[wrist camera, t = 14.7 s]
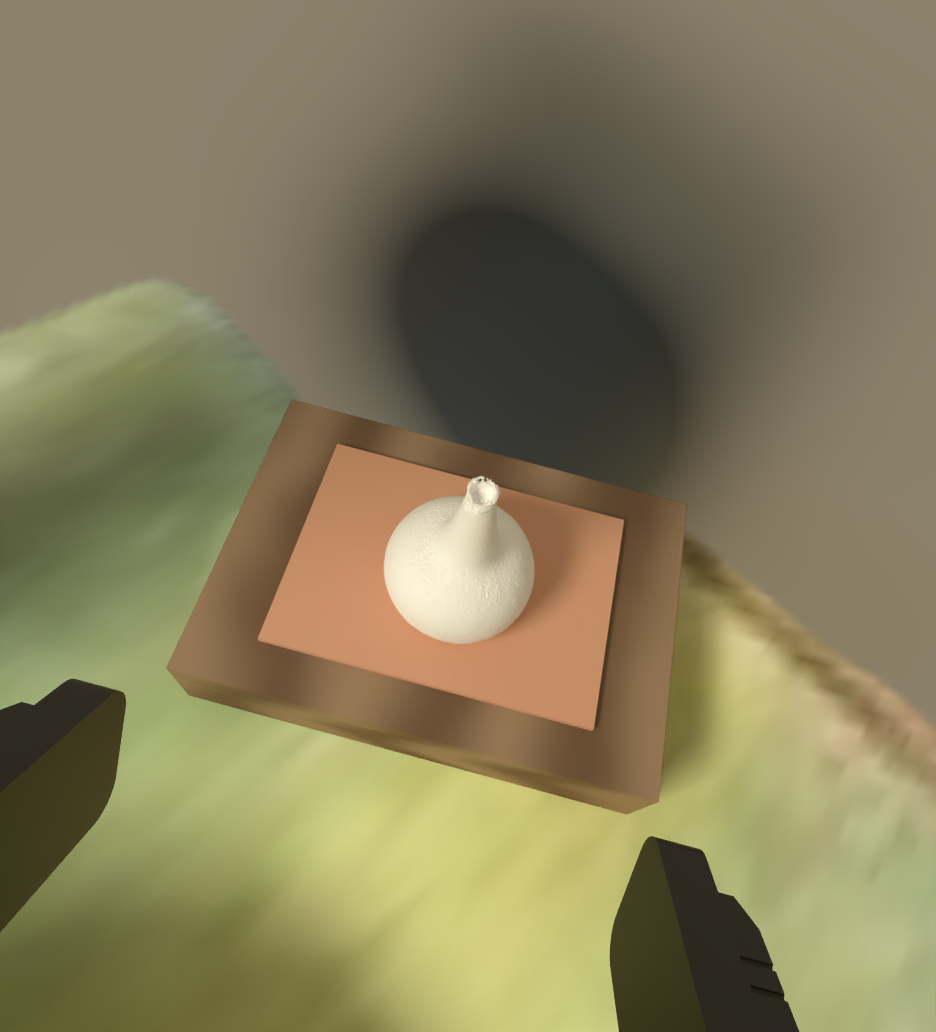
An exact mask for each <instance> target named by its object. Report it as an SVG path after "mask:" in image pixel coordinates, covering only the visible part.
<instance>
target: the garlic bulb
mask: <svg viewBox="0 0 936 1032" xmlns="http://www.w3.org/2000/svg"><path fill="white" fill-rule="evenodd" d="M479 479H482V480H481V481H479ZM484 479H485V477H484V476H479V477H477V478H473V479H472V480H471V481H470V482H469V483H468V486H467V492H466V495H465V496H447V497H442V498H438V499H434V500H431V501H429V502H426V503H425V504H423V505H420V506H419V507H417V508H416V509H414V510H413V511H412V512H410V513H409V514H408V515H407V516H406V517H404V519H403V520H402V521H401V522H400V523H399V524H398V526H397V527H396V529H395V530H394V532H393V533H392V535H391V538H390V540H389V542H388V545H387V548H386V553H385V559H384V578H385V584H386V587H387V590H388V593H389V596H390V598H391V600H392V602H393V604H394V605H395V607H396V608H397V610H398V611H399V613H400V614H401V615H402V616H403V618H404V619H405V620H406V621H407V622H408V623H409V624H410V625H412V626H413V627H414V628H416V629H418V630H419V631H420V632H422V633H424V634H425V635H427V636H429V637H432V638H435V639H437V640H441V641H444V642H449V643H455V644H467V643H475V642H480V641H483V640H486V639H489V638H492V637H494V636H495V635H497V634H499V633H501V632H503V631H504V630H505V629H507V628H508V627H509V626H510V625H511V624H512V623H513V622H514V621H515V620H516V619H517V618H518V616H519V615H520V614H521V612H522V611H523V609H524V608H525V606H526V604H527V602H528V600H529V597H530V595H531V591H532V588H533V583H534V569H535V567H534V558H533V554H532V550H531V547H530V544H529V542H528V540H527V538H526V535H525V534H524V532H523V530H522V529H521V527H520V526H519V525H518V523H517V522H516V521H515V520H514V519H513V518H512V517H511V516H510V515H509V514H508V513H506V512H505V511H504V510H502V509H501V508H499V507H498V506H497V500H498V498H499V497H498V496H499V494H500V492H499V490H500V489H499V487H498V485H496V484H495V482H492V480H491V479H490V481H489V479H488V478H486V479H487V480H488V481H487V482H485V480H484Z"/></svg>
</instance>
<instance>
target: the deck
mask: <svg viewBox="0 0 936 1032" xmlns="http://www.w3.org/2000/svg"><path fill="white" fill-rule="evenodd" d="M337 444H340V445H344V446H348V447H352V448H356V449H359V450H363V451H367V452H371V453H374V454H378V455H382V456H386V457H389V458H393V459H397V460H401V461H404V462H408V463H412V464H416V465H419V466H423V467H427V468H431V469H434V470H438V471H442V472H446V473H449V474H453V475H457V476H461V477H464V478H468V479H473V478H477V477H479V476H484V477H485V479H484V480H485V482H487V481H488V480H487V479H486V478H488V479H489V481H490V479H491V480H492V482H495V484H496V485H498V487H502V488H506V489H509V490H513V491H517V492H521V493H524V494H528V495H532V496H536V497H539V498H543V499H547V500H551V501H555V502H558V503H562V504H566V505H570V506H573V507H577V508H581V509H585V510H588V511H592V512H596V513H600V514H603V515H607V516H611V517H615V518H618V519H622V520H624V524H623V531H622V538H621V545H620V552H619V559H618V565H617V572H616V579H615V586H614V593H613V600H612V607H611V614H610V621H609V628H608V634H607V641H606V648H605V655H604V662H603V669H602V676H601V683H600V690H599V697H598V703H597V710H596V717H595V724H594V730H592V731H590V730H586V729H582V728H579V727H575V726H571V725H568V724H564V723H560V722H557V721H553V720H549V719H545V718H542V717H538V716H534V715H531V714H527V713H523V712H520V711H516V710H512V709H509V708H505V707H501V706H497V705H494V704H490V703H486V702H483V701H479V700H475V699H472V698H468V697H464V696H460V695H457V694H453V693H449V692H446V691H442V690H438V689H435V688H431V687H427V686H424V685H420V684H416V683H412V682H409V681H405V680H401V679H398V678H394V677H390V676H387V675H383V674H379V673H375V672H372V671H368V670H364V669H361V668H357V667H353V666H350V665H346V664H342V663H339V662H335V661H331V660H327V659H324V658H320V657H316V656H313V655H309V654H305V653H302V652H298V651H294V650H290V649H287V648H283V647H279V646H276V645H272V644H268V643H265V642H261V641H258V636H259V634H260V631H261V629H262V627H263V624H264V622H265V619H266V617H267V614H268V612H269V609H270V607H271V605H272V602H273V600H274V597H275V595H276V592H277V590H278V587H279V585H280V582H281V580H282V578H283V575H284V573H285V570H286V568H287V565H288V563H289V560H290V558H291V556H292V553H293V551H294V548H295V546H296V543H297V541H298V538H299V536H300V534H301V531H302V529H303V526H304V524H305V521H306V519H307V516H308V514H309V512H310V509H311V507H312V504H313V502H314V499H315V497H316V494H317V492H318V490H319V487H320V485H321V482H322V480H323V477H324V475H325V472H326V470H327V468H328V465H329V463H330V460H331V458H332V455H333V453H334V450H335V448H336V446H337ZM481 480H482V479H479V481H481ZM686 507H687V505H686V504H683V503H679V502H676V501H672V500H668V499H664V498H661V497H656V496H653V495H649V494H646V493H642V492H638V491H634V490H631V489H627V488H623V487H619V486H616V485H612V484H608V483H604V482H600V481H597V480H593V479H589V478H585V477H582V476H578V475H574V474H570V473H567V472H562V471H559V470H555V469H552V468H547V467H544V466H540V465H536V464H533V463H528V462H525V461H521V460H518V459H514V458H510V457H506V456H502V455H499V454H495V453H491V452H488V451H484V450H480V449H476V448H472V447H469V446H465V445H461V444H457V443H454V442H450V441H446V440H442V439H439V438H435V437H431V436H427V435H424V434H420V433H416V432H412V431H409V430H405V429H401V428H397V427H393V426H389V425H386V424H382V423H378V422H375V421H371V420H367V419H363V418H359V417H356V416H352V415H348V414H345V413H341V412H337V411H333V410H329V409H326V408H322V407H318V406H314V405H311V404H307V403H303V402H299V401H296V400H291V402H290V404H289V406H288V409H287V411H286V413H285V415H284V417H283V419H282V421H281V424H280V426H279V428H278V430H277V432H276V434H275V436H274V438H273V441H272V443H271V445H270V447H269V449H268V451H267V453H266V456H265V458H264V460H263V462H262V464H261V466H260V468H259V471H258V473H257V475H256V477H255V479H254V481H253V483H252V486H251V488H250V490H249V492H248V494H247V496H246V498H245V501H244V503H243V505H242V507H241V509H240V511H239V513H238V515H237V518H236V520H235V522H234V524H233V526H232V528H231V530H230V533H229V535H228V537H227V539H226V541H225V543H224V545H223V548H222V550H221V552H220V554H219V556H218V558H217V560H216V563H215V565H214V567H213V569H212V571H211V573H210V575H209V578H208V580H207V582H206V584H205V586H204V588H203V590H202V592H201V595H200V597H199V599H198V601H197V603H196V605H195V607H194V610H193V612H192V614H191V616H190V618H189V620H188V622H187V625H186V627H185V629H184V631H183V633H182V635H181V637H180V640H179V642H178V644H177V646H176V648H175V650H174V652H173V655H172V657H171V659H170V661H169V663H168V665H167V667H166V668H167V669H168V671H169V672H170V673H171V674H172V676H173V677H174V678H175V679H176V680H177V682H178V683H179V684H180V685H181V686H182V688H183V689H184V690H185V691H186V692H187V694H188V695H190V696H194V697H198V698H201V699H205V700H209V701H212V702H216V703H220V704H223V705H227V706H231V707H234V708H238V709H242V710H245V711H249V712H253V713H256V714H260V715H264V716H267V717H271V718H275V719H278V720H282V721H286V722H289V723H293V724H297V725H300V726H304V727H308V728H312V729H315V730H319V731H323V732H326V733H330V734H334V735H337V736H341V737H345V738H348V739H352V740H356V741H359V742H363V743H367V744H370V745H374V746H378V747H381V748H385V749H389V750H392V751H396V752H400V753H403V754H407V755H411V756H414V757H418V758H422V759H425V760H429V761H433V762H436V763H440V764H444V765H448V766H451V767H455V768H459V769H462V770H466V771H470V772H473V773H477V774H481V775H484V776H488V777H492V778H495V779H499V780H503V781H506V782H510V783H514V784H517V785H521V786H525V787H528V788H532V789H536V790H539V791H543V792H547V793H550V794H554V795H558V796H561V797H565V798H569V799H572V800H576V801H580V802H584V803H587V804H591V805H595V806H598V807H602V808H606V809H609V810H613V811H617V812H620V813H624V814H629V813H632V812H634V811H637V810H639V809H642V808H644V807H647V806H649V805H652V804H654V803H657V802H659V795H660V784H661V774H662V763H663V753H664V742H665V731H666V721H667V710H668V699H669V689H670V678H671V668H672V657H673V646H674V636H675V625H676V614H677V604H678V593H679V582H680V572H681V561H682V551H683V540H684V529H685V519H686V518H685V517H686Z"/></svg>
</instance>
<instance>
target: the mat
mask: <svg viewBox="0 0 936 1032" xmlns="http://www.w3.org/2000/svg"><path fill="white" fill-rule="evenodd" d="M471 480H472V479H468V478H464V477H461V476H457V475H453V474H449V473H446V472H442V471H438V470H434V469H431V468H427V467H423V466H419V465H416V464H412V463H408V462H404V461H401V460H397V459H393V458H389V457H386V456H382V455H378V454H374V453H371V452H367V451H363V450H359V449H356V448H352V447H348V446H344V445H340V444H337V446H336V448H335V450H334V453H333V455H332V458H331V460H330V463H329V465H328V468H327V470H326V472H325V475H324V477H323V480H322V482H321V485H320V487H319V490H318V492H317V494H316V497H315V499H314V502H313V504H312V507H311V509H310V512H309V514H308V516H307V519H306V521H305V524H304V526H303V529H302V531H301V534H300V536H299V538H298V541H297V543H296V546H295V548H294V551H293V553H292V556H291V558H290V560H289V563H288V565H287V568H286V570H285V573H284V575H283V578H282V580H281V582H280V585H279V587H278V590H277V592H276V595H275V597H274V600H273V602H272V605H271V607H270V609H269V612H268V614H267V617H266V619H265V622H264V624H263V627H262V629H261V631H260V634H259V636H258V641H261V642H265V643H268V644H272V645H276V646H279V647H283V648H287V649H290V650H294V651H298V652H302V653H305V654H309V655H313V656H316V657H320V658H324V659H327V660H331V661H335V662H339V663H342V664H346V665H350V666H353V667H357V668H361V669H364V670H368V671H372V672H375V673H379V674H383V675H387V676H390V677H394V678H398V679H401V680H405V681H409V682H412V683H416V684H420V685H424V686H427V687H431V688H435V689H438V690H442V691H446V692H449V693H453V694H457V695H460V696H464V697H468V698H472V699H475V700H479V701H483V702H486V703H490V704H494V705H497V706H501V707H505V708H509V709H512V710H516V711H520V712H523V713H527V714H531V715H534V716H538V717H542V718H545V719H549V720H553V721H557V722H560V723H564V724H568V725H571V726H575V727H579V728H582V729H586V730H590V731H592V730H594V724H595V717H596V710H597V703H598V697H599V690H600V683H601V676H602V669H603V662H604V655H605V648H606V641H607V634H608V628H609V621H610V614H611V607H612V600H613V593H614V586H615V579H616V572H617V565H618V559H619V552H620V545H621V538H622V531H623V524H624V520H622V519H618V518H615V517H611V516H607V515H603V514H600V513H596V512H592V511H588V510H585V509H581V508H577V507H573V506H570V505H566V504H562V503H558V502H555V501H551V500H547V499H543V498H539V497H536V496H532V495H528V494H524V493H521V492H517V491H513V490H509V489H506V488H502V487H499V489H500V490H499V492H500V494H499V496H498V497H499V498H498V500H497V506H498V507H499V508H501V509H502V510H504V511H505V512H506V513H508V514H509V515H510V516H511V517H512V518H513V519H514V520H515V521H516V522H517V523H518V525H519V526H520V527H521V529H522V530H523V532H524V534H525V535H526V538H527V540H528V542H529V544H530V547H531V550H532V554H533V558H534V567H535V569H534V583H533V588H532V591H531V595H530V597H529V600H528V602H527V604H526V606H525V608H524V609H523V611H522V612H521V614H520V615H519V616H518V618H517V619H516V620H515V621H514V622H513V623H512V624H511V625H510V626H509V627H508V628H507V629H505V630H504V631H503V632H501V633H499V634H497V635H495V636H494V637H492V638H489V639H486V640H483V641H480V642H475V643H467V644H455V643H449V642H444V641H441V640H437V639H435V638H432V637H429V636H427V635H425V634H424V633H422V632H420V631H419V630H418V629H416V628H414V627H413V626H412V625H410V624H409V623H408V622H407V621H406V620H405V619H404V618H403V616H402V615H401V614H400V613H399V611H398V610H397V608H396V607H395V605H394V604H393V602H392V600H391V598H390V596H389V593H388V590H387V587H386V584H385V578H384V559H385V553H386V548H387V545H388V542H389V540H390V538H391V535H392V533H393V532H394V530H395V529H396V527H397V526H398V524H399V523H400V522H401V521H402V520H403V519H404V517H406V516H407V515H408V514H409V513H410V512H412V511H413V510H414V509H416V508H417V507H419V506H420V505H423V504H425V503H426V502H429V501H431V500H434V499H438V498H442V497H447V496H465V495H466V492H467V486H468V483H469V482H470V481H471Z"/></svg>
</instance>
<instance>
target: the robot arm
mask: <svg viewBox="0 0 936 1032" xmlns="http://www.w3.org/2000/svg"><path fill="white" fill-rule="evenodd" d="M125 708H126V698H125V695H124V693H123V692H121V691H118V690H114V689H110V688H107V687H103V686H99V685H95V684H92V683H88V682H84V681H81V680H77V679H69V680H67V681H66V682H64V683H63V684H61V685H60V686H59V687H57V688H56V689H55V690H53V691H52V692H51V693H49V694H48V695H47V696H46V697H44V698H43V699H42V700H40V701H39V702H38V703H36V704H35V705H31V704H27V703H23V702H20V703H18V704H15V705H12V706H10V707H7V708H4V709H2V710H0V932H1V931H2V930H3V928H4V927H5V926H6V925H7V924H8V923H9V921H10V920H11V919H12V918H13V917H14V916H15V915H16V913H17V912H18V911H19V910H20V909H21V908H22V907H23V905H24V904H25V903H26V902H27V901H28V900H29V899H30V897H31V896H32V895H33V894H34V893H35V892H36V891H37V889H38V888H39V887H40V886H41V885H42V884H43V882H44V881H45V880H46V879H47V878H48V877H49V876H50V874H51V873H52V872H53V871H54V870H55V869H56V868H57V866H58V865H59V864H60V863H61V862H62V861H63V860H64V858H65V857H66V856H67V855H68V854H69V853H70V852H71V850H72V849H73V848H74V847H75V846H76V845H77V843H78V842H79V841H80V840H81V839H82V838H83V837H84V835H85V834H86V833H87V832H88V831H89V830H90V829H91V827H92V826H93V825H94V824H95V823H96V821H97V820H98V818H99V817H100V815H101V814H102V812H103V810H104V809H105V807H106V805H107V803H108V800H109V798H110V796H111V793H112V790H113V787H114V783H115V779H116V772H117V765H118V758H119V751H120V744H121V737H122V729H123V722H124V715H125ZM772 966H773V963H772V961H771V958H770V956H769V953H768V951H767V948H766V946H765V943H764V940H763V938H762V935H761V933H760V930H759V929H758V927H757V926H756V925H755V924H754V922H753V921H752V920H751V918H750V917H749V916H748V914H747V913H746V912H745V911H744V909H743V908H742V907H741V905H740V904H739V903H738V901H737V900H736V899H735V898H734V896H730V895H726V894H723V893H719V892H718V891H717V888H716V885H715V882H714V879H713V876H712V873H711V871H710V868H709V865H708V862H707V859H706V856H705V854H704V853H703V851H702V850H700V849H697V848H693V847H690V846H686V845H682V844H678V843H675V842H671V841H667V840H664V839H660V838H656V837H653V836H651V837H649V838H647V840H646V841H645V843H644V844H643V847H642V849H641V851H640V854H639V857H638V859H637V862H636V865H635V867H634V870H633V872H632V875H631V878H630V880H629V883H628V886H627V888H626V891H625V893H624V896H623V899H622V901H621V904H620V907H619V909H618V912H617V915H616V917H615V921H614V925H613V929H612V935H611V943H610V968H611V975H612V983H613V990H614V998H615V1005H616V1012H617V1020H618V1027H619V1032H799V1030H798V1027H797V1025H796V1022H795V1020H794V1017H793V1015H792V1012H791V1009H790V1007H789V1004H788V1002H786V1001H784V992H783V989H782V986H781V984H780V981H779V979H778V976H777V974H776V972H775V971H773V970H772Z"/></svg>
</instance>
